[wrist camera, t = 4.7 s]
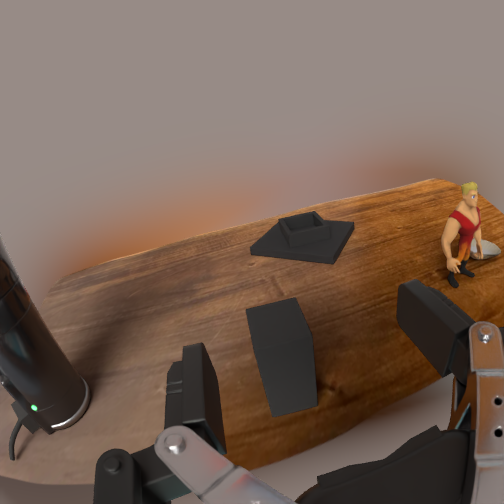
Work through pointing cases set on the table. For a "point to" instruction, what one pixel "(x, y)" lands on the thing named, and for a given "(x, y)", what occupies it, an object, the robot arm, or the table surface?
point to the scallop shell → (484, 249)
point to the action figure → (463, 232)
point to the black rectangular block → (284, 355)
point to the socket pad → (308, 250)
